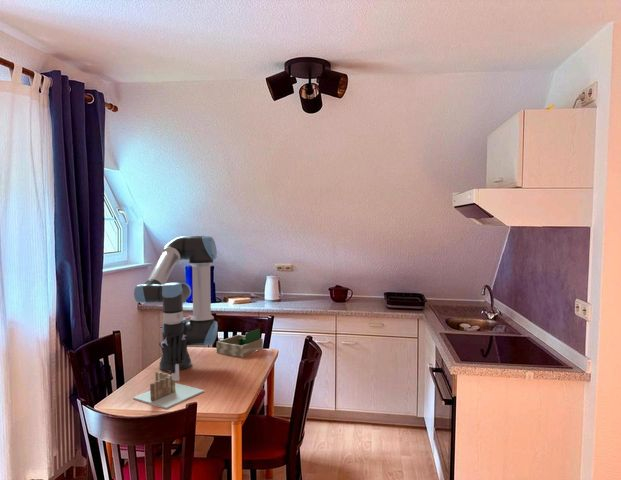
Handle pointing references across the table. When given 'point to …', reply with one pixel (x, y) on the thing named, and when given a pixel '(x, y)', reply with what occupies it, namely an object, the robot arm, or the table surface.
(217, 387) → the table surface
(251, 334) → the pixelated creature
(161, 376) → the fence fixed
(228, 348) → the box
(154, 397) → the fence gate
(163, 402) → the card
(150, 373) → the table surface
